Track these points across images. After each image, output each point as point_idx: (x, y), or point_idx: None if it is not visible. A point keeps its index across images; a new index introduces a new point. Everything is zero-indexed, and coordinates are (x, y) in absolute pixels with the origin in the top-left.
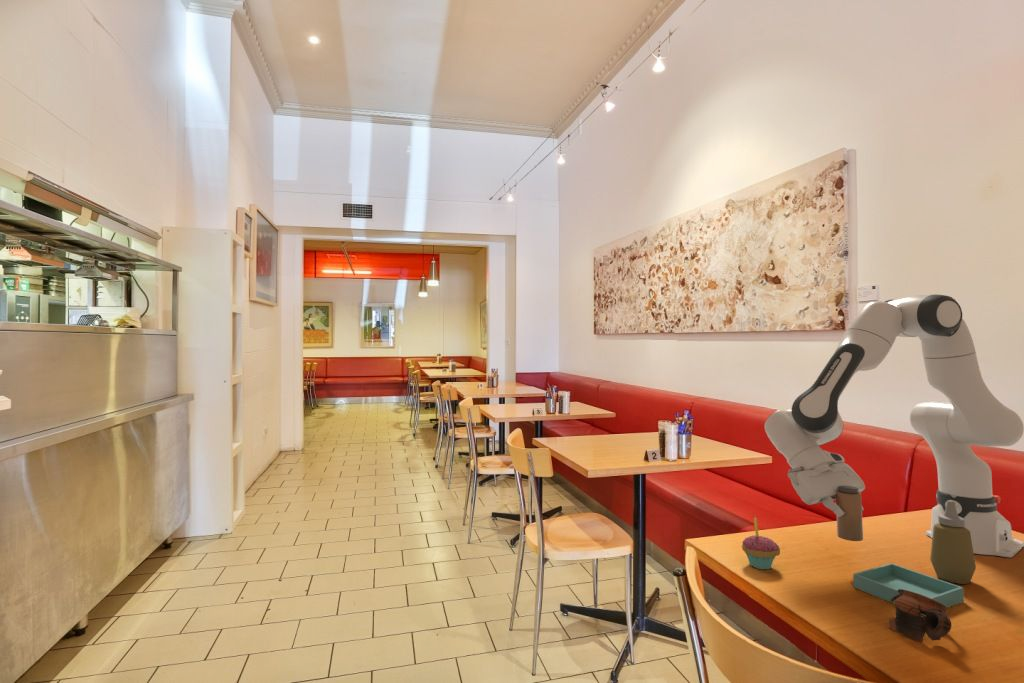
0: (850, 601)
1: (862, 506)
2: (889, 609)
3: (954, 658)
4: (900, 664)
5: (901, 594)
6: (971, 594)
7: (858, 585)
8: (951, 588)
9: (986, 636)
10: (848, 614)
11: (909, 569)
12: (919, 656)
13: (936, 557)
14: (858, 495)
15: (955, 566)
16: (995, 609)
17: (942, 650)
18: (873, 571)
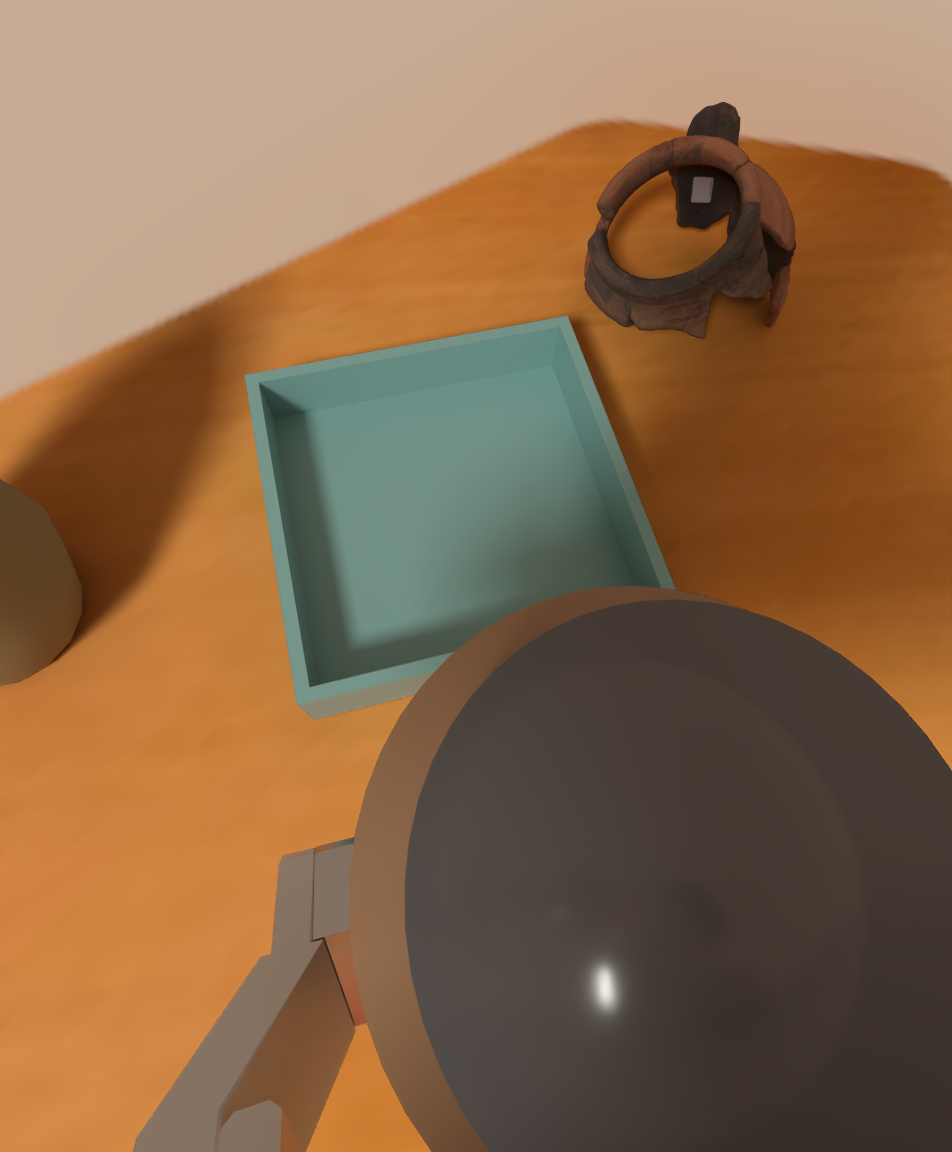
0: (781, 513)
1: (279, 879)
2: (657, 428)
3: None
4: (886, 189)
5: (760, 225)
6: (137, 466)
7: None
8: (268, 422)
9: (470, 237)
10: (865, 426)
11: (282, 598)
12: (797, 204)
13: (24, 583)
14: (592, 592)
15: (31, 500)
16: (206, 353)
17: None
18: None
